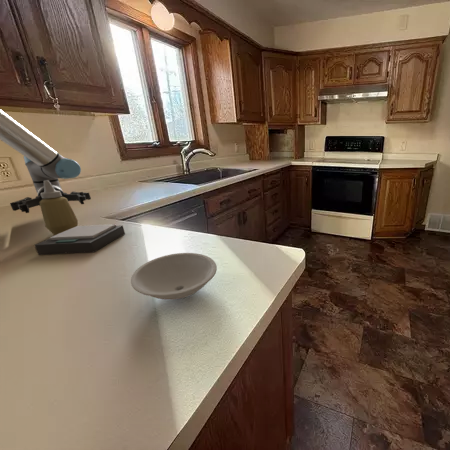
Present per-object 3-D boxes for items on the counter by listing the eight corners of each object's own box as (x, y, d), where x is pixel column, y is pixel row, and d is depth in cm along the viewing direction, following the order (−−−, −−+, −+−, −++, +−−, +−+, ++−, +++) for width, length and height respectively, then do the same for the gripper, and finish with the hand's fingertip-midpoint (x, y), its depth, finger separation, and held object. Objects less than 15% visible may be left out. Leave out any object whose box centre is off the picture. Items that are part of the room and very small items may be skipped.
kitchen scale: (38, 254, 68) (32, 242, 66) (78, 235, 81) (74, 225, 80) (94, 252, 68) (89, 239, 67) (125, 233, 81) (122, 223, 80)
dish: (236, 292, 48) (233, 270, 47) (159, 334, 38) (151, 308, 37) (193, 265, 60) (190, 246, 58) (125, 292, 49) (118, 270, 48)
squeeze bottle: (83, 232, 84) (64, 180, 77) (50, 240, 78) (27, 183, 72) (79, 227, 89) (62, 177, 83) (48, 234, 83) (27, 181, 77)
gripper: (94, 199, 105) (104, 207, 91) (8, 212, 88) (3, 224, 74) (89, 181, 103) (98, 187, 89) (-2, 191, 86) (-8, 200, 72)
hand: (55, 204), depth 81 cm, fingers open, 13 cm apart
